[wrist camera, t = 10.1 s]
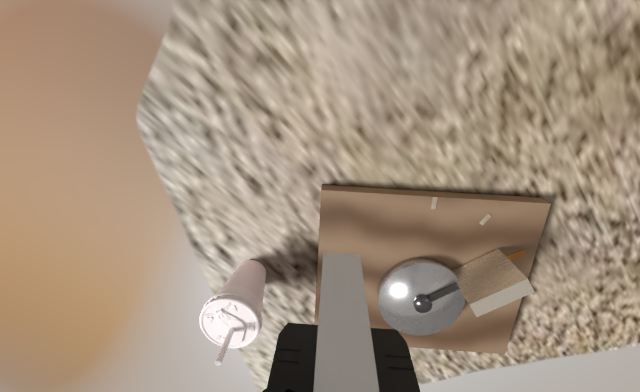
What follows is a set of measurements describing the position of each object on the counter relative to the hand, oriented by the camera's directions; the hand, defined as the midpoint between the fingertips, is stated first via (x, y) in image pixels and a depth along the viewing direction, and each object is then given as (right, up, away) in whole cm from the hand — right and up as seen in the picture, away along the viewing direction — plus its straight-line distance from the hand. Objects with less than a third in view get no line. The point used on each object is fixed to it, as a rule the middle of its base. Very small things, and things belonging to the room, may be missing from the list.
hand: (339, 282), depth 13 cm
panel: (+11, -6, +27) cm, 30 cm away
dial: (+14, -7, +25) cm, 30 cm away
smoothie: (-10, -6, +29) cm, 31 cm away
